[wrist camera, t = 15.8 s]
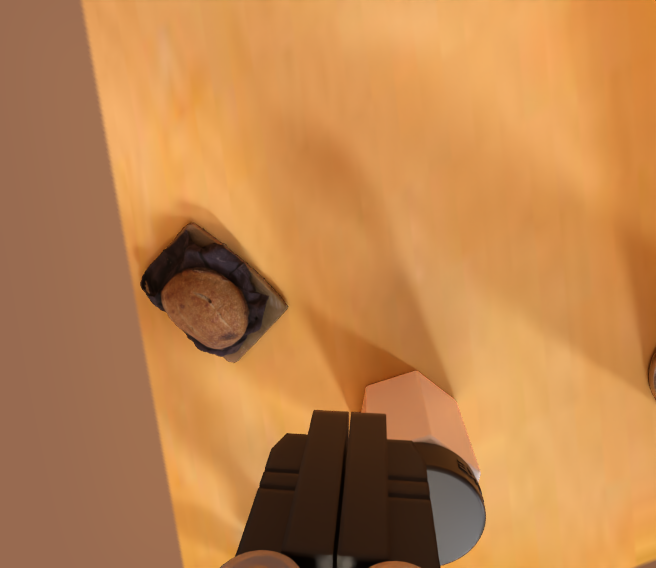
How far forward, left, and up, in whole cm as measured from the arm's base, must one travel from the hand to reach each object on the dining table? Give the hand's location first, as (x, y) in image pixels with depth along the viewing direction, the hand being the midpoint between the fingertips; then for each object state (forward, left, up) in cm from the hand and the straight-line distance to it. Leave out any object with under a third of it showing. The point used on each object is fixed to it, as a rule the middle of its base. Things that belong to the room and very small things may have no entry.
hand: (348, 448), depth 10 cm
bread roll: (+12, +6, -29) cm, 32 cm away
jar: (-4, +17, -29) cm, 34 cm away
